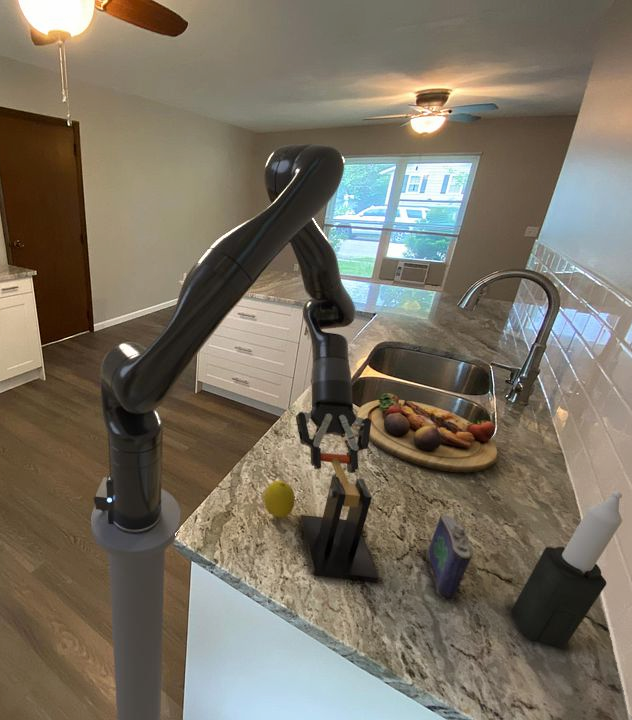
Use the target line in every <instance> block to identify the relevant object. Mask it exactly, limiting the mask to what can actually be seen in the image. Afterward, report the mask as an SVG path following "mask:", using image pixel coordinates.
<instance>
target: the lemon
mask: <svg viewBox="0 0 632 720" xmlns="http://www.w3.org/2000/svg"><path fill="white" fill-rule="evenodd" d="M263 500H264V507H265V509H266V510H267V512H268V513H269V514H270V515H272V516H273V517H276V518H285V517H287V516H288V515H290V514H291V513H292V511H293V509H294V506H295V492H294V489H293V488H292V486H291V485H290V484H289V483H288V482H286V481H283V480H275V481H273V482H271V483H270V484H269V485H268V486H267V488H266V489H265V493H264V496H263Z"/></svg>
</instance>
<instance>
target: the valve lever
mask: <svg viewBox="0 0 632 720" xmlns="http://www.w3.org/2000/svg"><path fill="white" fill-rule="evenodd" d="M321 462H325V463H331V466H332V467H333V470H334V472H335V475H336V477H338V478H339V480H340V483H341V485H342V488H343V490H344V493H345V499H344V503H343V506H342V507H348V508H349V507H357V506H358V502H359V499H360V494H359V492H358V490H357V488H356V486H355V484H356V483H355V484H353V483H349V480H348V478H347V476H346V473H345V471H344V469H343V467H342V464H345V465H347V464H349V463H350V457H349V455H347V454H341V453H339V454H338V453H329V452H328V453H327V452H321Z"/></svg>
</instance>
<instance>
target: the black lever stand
mask: <svg viewBox="0 0 632 720" xmlns="http://www.w3.org/2000/svg"><path fill="white" fill-rule="evenodd" d="M365 482H366V481H365V480H364V479H363V478H356V481H355V486H356V488H357V490H358V492H359V494H360V499H359V502H358V506H357V507H348V511H347V515H346V519H344V518H341V513H342V510H343V507H344V506H343V503H344V499H345V493H344V490H343V488H342V485H341V483H340V480H339V478H338V477H337V475H336V476H333V475H332V476H331V481H330V484H329V489H328V493H327V497H326V502H325V506H324V511H323V515H322V516H316V515H307V514H300V515H301V516H300V525H301V528H302V532H303V536H304V541H305V545H306V549H307V554H308V558H309V559H308V560H309V562H310V567H311V571H312V575H313V576H318V577H325V578H333V579H342V580H349V581H358V582H364V583H373V584H378V581H379V575H378V573H377V571H376V568H375V565H374V563H373V561H372V558H371V556H370V553H369V550H368V548H367V546H366V542H365V540H364V538H363V535H362V534H363V531H364V527H365V523H366V519H367V516H368V513H369V509H370V507H371V503H372V498H373V497H372V495H371V492H370V490H369V489H368V486H367V485H366V483H365Z"/></svg>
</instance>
